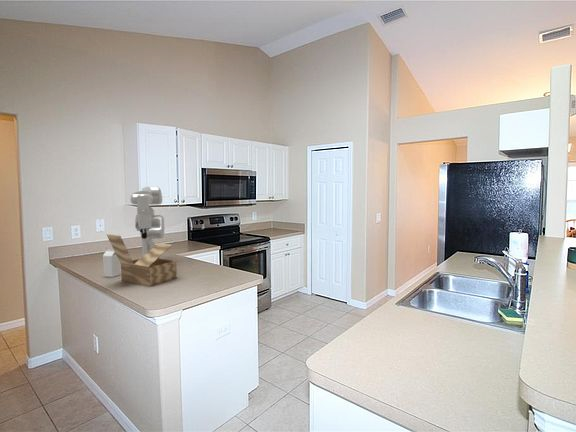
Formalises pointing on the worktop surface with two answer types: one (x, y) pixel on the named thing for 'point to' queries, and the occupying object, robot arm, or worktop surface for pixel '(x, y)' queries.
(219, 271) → the worktop surface
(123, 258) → the flap
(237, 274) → the worktop surface
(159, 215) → the robot arm
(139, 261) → the flap
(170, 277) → the carton
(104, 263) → the milk carton
